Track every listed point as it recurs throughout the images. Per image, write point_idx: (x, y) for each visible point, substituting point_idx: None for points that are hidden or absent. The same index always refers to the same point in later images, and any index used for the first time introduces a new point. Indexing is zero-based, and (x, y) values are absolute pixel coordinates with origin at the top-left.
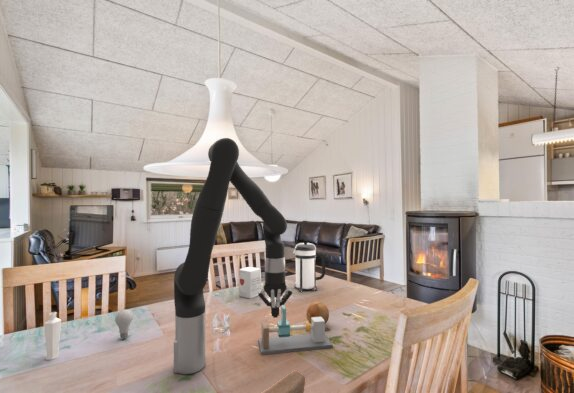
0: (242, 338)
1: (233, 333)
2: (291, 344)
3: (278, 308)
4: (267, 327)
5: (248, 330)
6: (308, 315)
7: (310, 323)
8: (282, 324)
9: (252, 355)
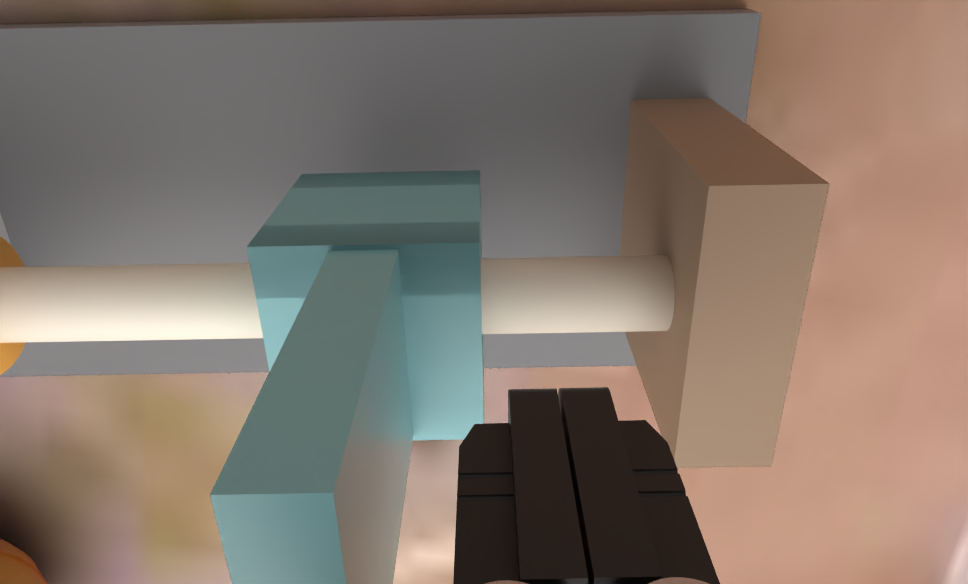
0: (863, 429)
1: (926, 538)
2: (307, 145)
3: (479, 571)
4: (728, 221)
5: (754, 572)
6: None
7: (33, 570)
8: (402, 297)
9: (861, 8)
